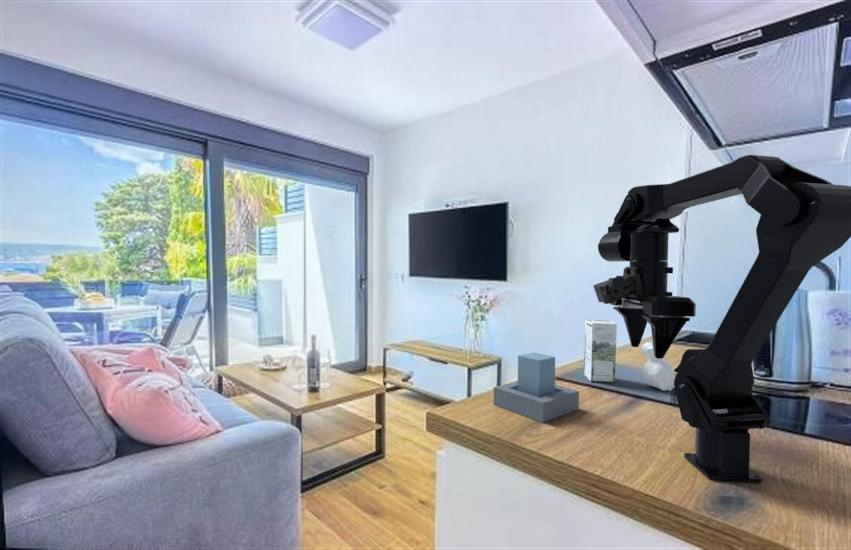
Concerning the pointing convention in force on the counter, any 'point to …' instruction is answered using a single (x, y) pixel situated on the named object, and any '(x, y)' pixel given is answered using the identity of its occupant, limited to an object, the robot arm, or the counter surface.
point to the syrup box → (600, 350)
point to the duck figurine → (657, 370)
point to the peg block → (536, 374)
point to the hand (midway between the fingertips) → (646, 352)
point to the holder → (536, 402)
